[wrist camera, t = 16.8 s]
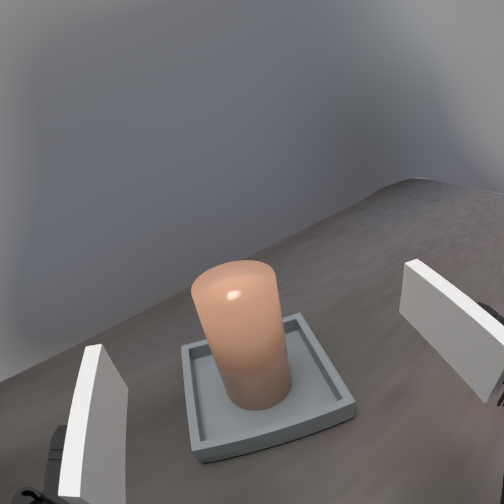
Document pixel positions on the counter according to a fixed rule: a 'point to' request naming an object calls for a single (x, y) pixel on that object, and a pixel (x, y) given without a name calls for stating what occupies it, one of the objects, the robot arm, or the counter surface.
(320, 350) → the grey tray
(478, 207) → the counter surface
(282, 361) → the light orange tall cylinder
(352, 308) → the counter surface
